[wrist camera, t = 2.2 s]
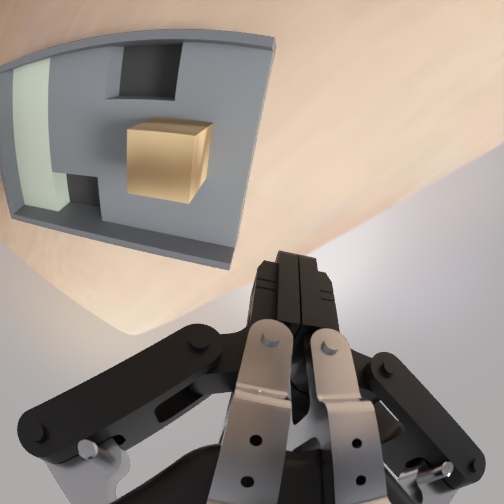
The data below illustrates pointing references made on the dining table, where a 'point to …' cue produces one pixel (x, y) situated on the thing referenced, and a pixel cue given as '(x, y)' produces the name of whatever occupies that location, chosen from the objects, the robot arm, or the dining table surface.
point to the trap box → (115, 135)
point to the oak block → (168, 158)
